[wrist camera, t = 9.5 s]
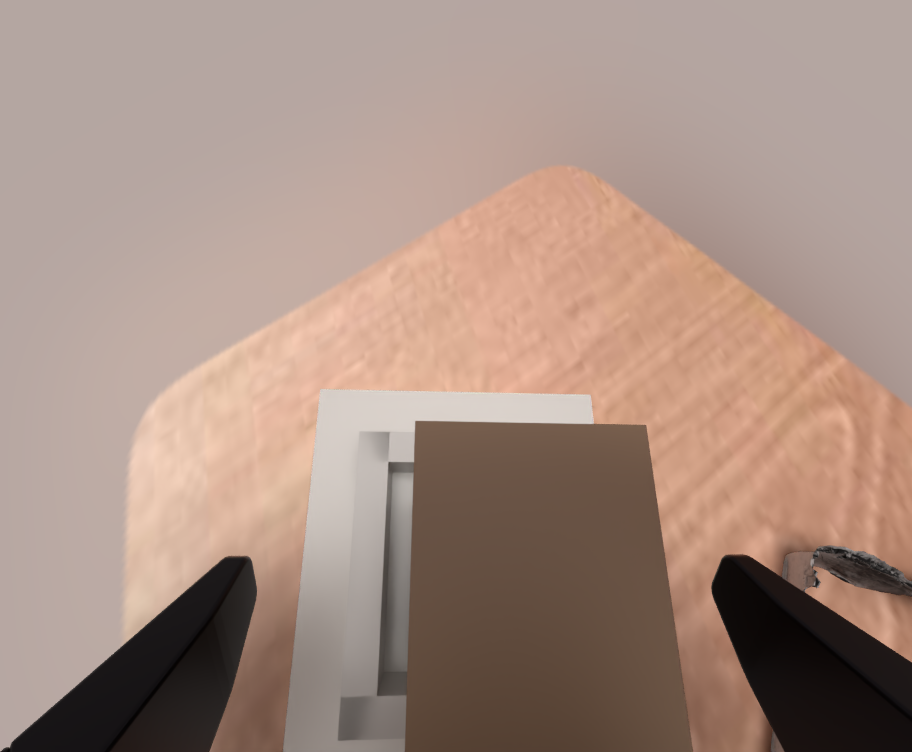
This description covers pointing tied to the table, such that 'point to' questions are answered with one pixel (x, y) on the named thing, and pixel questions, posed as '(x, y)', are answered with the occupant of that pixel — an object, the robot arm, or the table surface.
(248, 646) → the table surface
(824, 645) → the robot arm
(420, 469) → the walnut block
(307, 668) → the white recessed tray
